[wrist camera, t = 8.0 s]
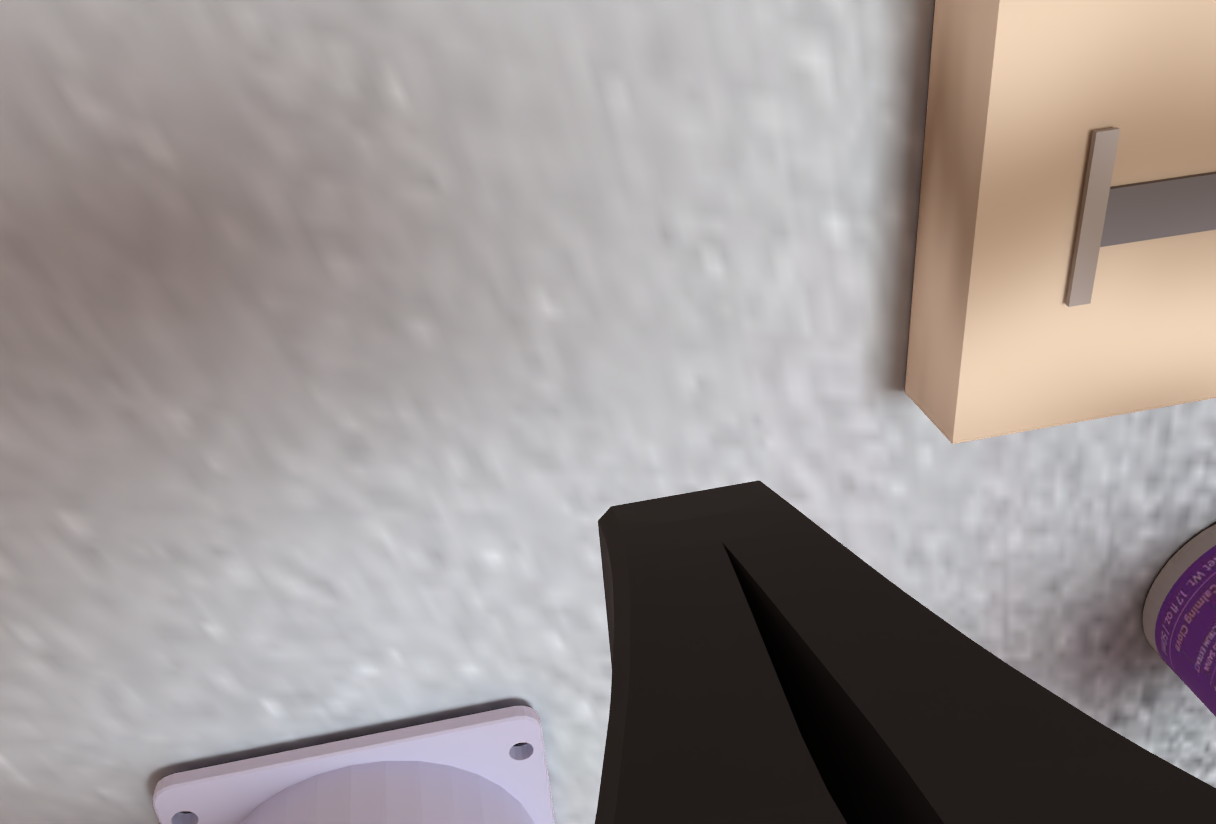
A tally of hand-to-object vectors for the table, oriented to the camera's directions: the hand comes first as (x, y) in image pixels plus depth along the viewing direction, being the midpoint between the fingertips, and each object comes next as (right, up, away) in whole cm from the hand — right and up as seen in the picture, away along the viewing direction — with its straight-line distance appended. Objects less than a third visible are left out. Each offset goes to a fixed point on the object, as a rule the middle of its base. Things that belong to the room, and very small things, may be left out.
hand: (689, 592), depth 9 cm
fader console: (+12, +6, +11) cm, 17 cm away
